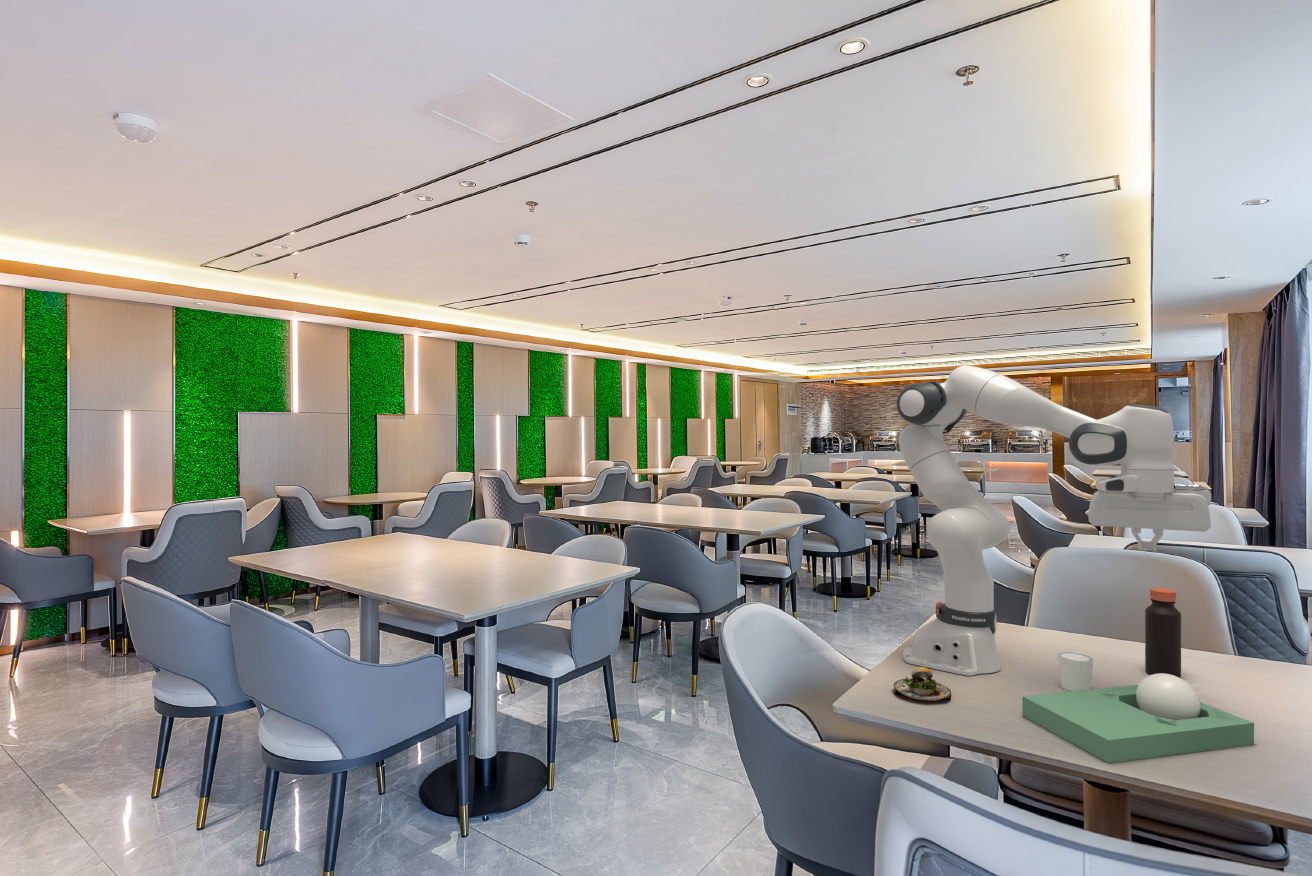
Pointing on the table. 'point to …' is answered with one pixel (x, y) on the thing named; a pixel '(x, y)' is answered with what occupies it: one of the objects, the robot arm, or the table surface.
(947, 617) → the robot arm
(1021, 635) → the table surface
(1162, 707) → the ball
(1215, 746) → the green cutout tray
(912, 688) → the burger
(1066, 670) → the white cup
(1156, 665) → the bottle
